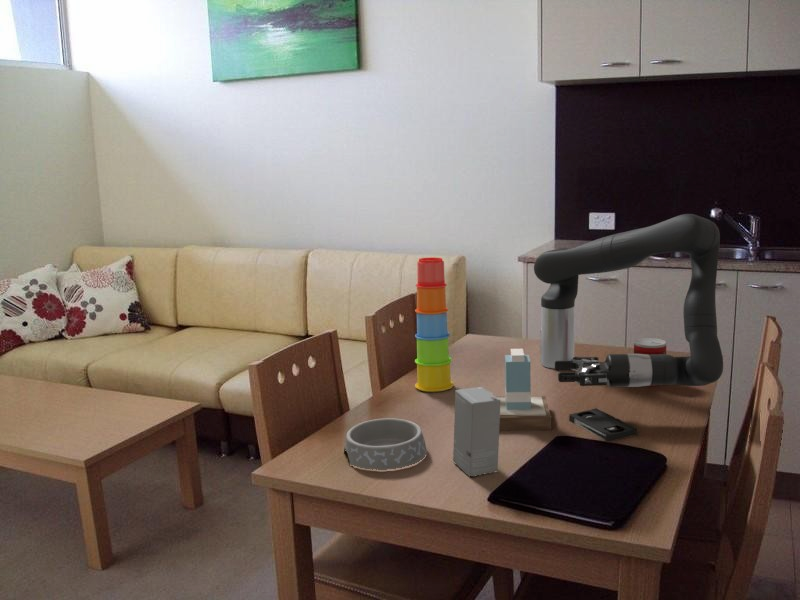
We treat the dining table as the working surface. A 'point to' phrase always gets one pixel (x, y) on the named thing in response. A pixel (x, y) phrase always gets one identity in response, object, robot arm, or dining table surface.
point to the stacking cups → (432, 327)
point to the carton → (517, 380)
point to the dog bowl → (385, 444)
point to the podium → (525, 415)
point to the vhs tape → (602, 424)
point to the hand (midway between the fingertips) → (556, 371)
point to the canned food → (649, 347)
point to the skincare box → (476, 431)
